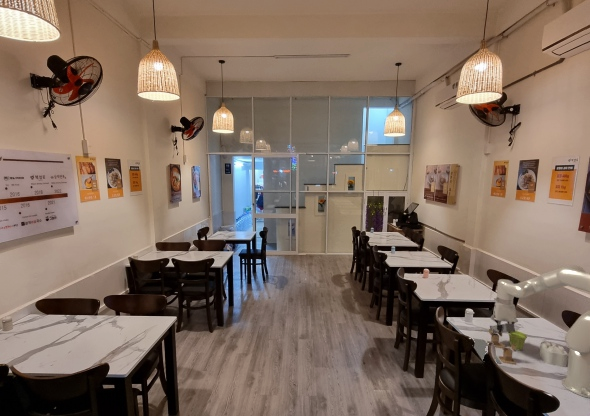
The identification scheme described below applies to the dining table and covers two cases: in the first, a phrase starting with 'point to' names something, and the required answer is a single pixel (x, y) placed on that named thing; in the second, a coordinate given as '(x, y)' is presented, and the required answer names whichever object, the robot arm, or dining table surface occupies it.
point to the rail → (503, 328)
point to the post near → (507, 354)
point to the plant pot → (517, 339)
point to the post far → (495, 338)
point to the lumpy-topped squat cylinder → (553, 354)
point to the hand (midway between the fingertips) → (503, 331)
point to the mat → (482, 349)
